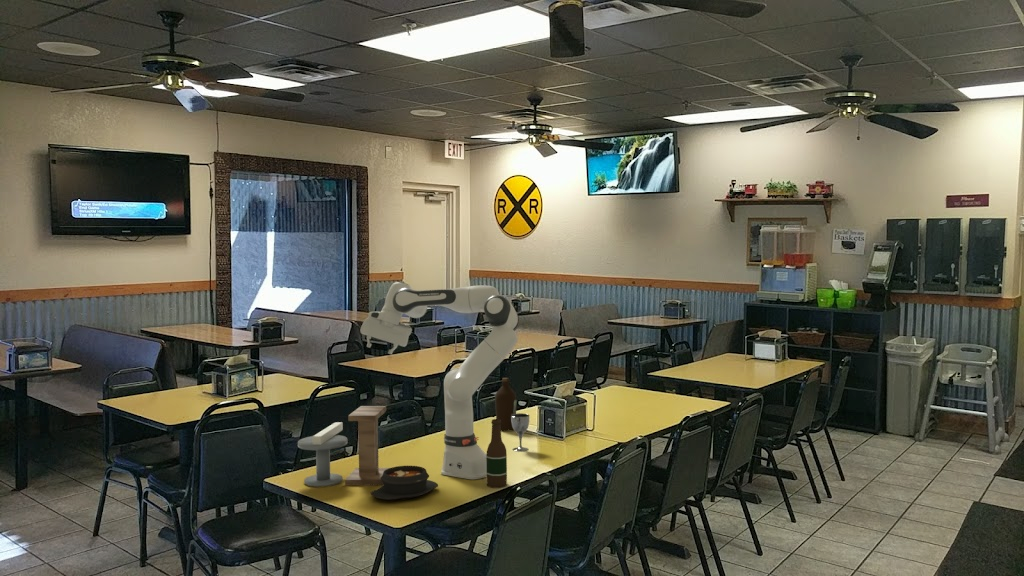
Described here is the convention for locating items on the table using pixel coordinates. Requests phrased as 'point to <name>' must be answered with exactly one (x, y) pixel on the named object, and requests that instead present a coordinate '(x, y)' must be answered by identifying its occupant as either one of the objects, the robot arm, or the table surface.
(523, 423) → the wine glass
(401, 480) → the casserole
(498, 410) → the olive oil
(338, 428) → the bar
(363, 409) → the walnut stand
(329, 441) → the cake stand
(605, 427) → the table surface
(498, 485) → the beer bottle
